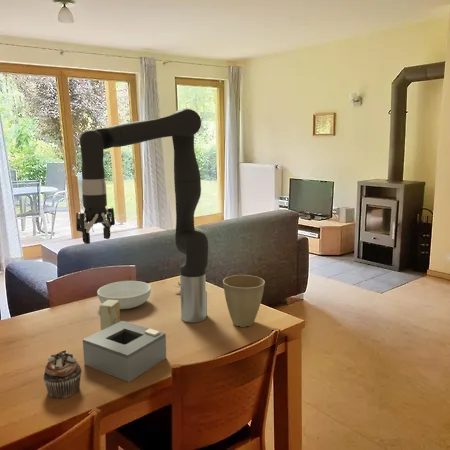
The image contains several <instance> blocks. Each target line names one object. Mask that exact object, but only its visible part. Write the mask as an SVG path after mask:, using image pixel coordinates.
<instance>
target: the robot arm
mask: <svg viewBox="0 0 450 450" xmlns="http://www.w3.org/2000/svg"><path fill="white" fill-rule="evenodd" d="M201 127H202V119H201V117H200V115H199V113H198V112H197V111H195V110H193V109H191V108H180V109H177V110H175V112H173V114H170V115H167V116H164V117H159V118H154V119H153V118H152V119H147V120H137V121H130V122H126V123H120V124H119V123H118V124H114V125H112V126H108V127H103V128H102V127H101V128H94V129H88V130H85V131H83V132H82V133H81V134H80V137H79V144H80V153H81V160H82V161H81V179H82V180H81V192H82V193H81V194H82V206H83V208H84V212H76V214H75V215H76V216H75V219H76V222H75V223H76V226H75V227H76V228H75V229H76V231H77V232H80V233H82V235H81V236H82V242H83V243H84V244H85V245H89V244H91V235H90V234H91V233H90V230H91V228H93V226H94V225H97V224H98V223H99V224H101V225H102V226H103V227H102V228H103V230H102V231H103V233H102V234H103V238H104V239H106V240H109V239H110V237H111V228H112V226H114V225H116V222H115V211H114V208H113V207H107V206H108V201H107V199H108V198H107V197H108V196H107V184H106V174H105V165H104V164H105V163H104V150H106V149H107V150H108V149H110V148H121V147H126V146H131V145H136V144H140V143H144V142H148V141H151V140H157V139H162V138H163V139H164V138H168V137H170V138H171V139H172V146H173V182H174V196H175V214H176V215H175V219H176V220H175V233H174V234H175V235H174V236H175V240H174V241H175V246H176V249H177V251H179V252H180V253H182V254H184V255H186V256H185V257H186V258H185V259H186V260H185V263H183V264H182V265H180V268H179V277H180V278H179V279H180V280H179V284H180V288H179V289H180V320H182V322H186V323H200V322H203V321H205V319H206V318H207V316H208V292H207V290H206V289H207V288H206V284H207V283H206V282H207V281H206V270H207V267H208V262H209V241H208V237H207V236H206V234H205V233H203V232H201V231H198V230H196V229H195V213H196V209H197V206H198V203H199V201H200V199H201V194H202V183H201V182H202V181H201V172H200V167H199V163H198V160H197V157H196V153H195V134H197V133H198V132H199V131H200V128H201Z"/></svg>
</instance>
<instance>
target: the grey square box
mask: <svg viewBox="0 0 450 450" xmlns="http://www.w3.org/2000/svg"><path fill="white" fill-rule="evenodd" d="M166 335H167V334H166V333H165V332H162V331H159V330H156V329H153V328H148V327H144V326H142V325H138V324H135V323H132V322H128V321H125V320H120V322H118V323H116V324H114V325H112V326H110V327H108V328H106V329H104V330H101V329H100V331H97V332H96V333H95V332H94V333H93V334H91V335H90V336H86V337H85V338H83V339H82V348H83V349H82V351H83V362H84V364H83V365H84V366H87V367H90V368H92V369H95V370H97V371H99V372H102V373H104V374H108V375H111V376H112V377H115V378H117V379H121V380H123V381H125V382H127V383H130V382H132V381H133V380H135V379H136V378H137V377H140V376H141V375H143V373H146V372H147V371H148V370H150V369H152V368H153V367H155V366H156V365H157V364H159V363H161V362H163V361H164V360H166V359H167V342H166V341H167V338H166V337H167V336H166ZM123 344H126V345H123Z"/></svg>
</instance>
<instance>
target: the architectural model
mask: <svg viewBox="0 0 450 450" xmlns="http://www.w3.org/2000/svg"><path fill="white" fill-rule="evenodd" d="M179 279H180V276H179ZM172 286H173V287H176V288H179V289H180V281H178V283H176V284H175V283H174V284H173V285H172Z"/></svg>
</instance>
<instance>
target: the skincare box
mask: <svg viewBox="0 0 450 450" xmlns="http://www.w3.org/2000/svg"><path fill="white" fill-rule="evenodd" d="M120 310H121V309H120V307H119V300H107V301H105V302H104V303H103V304H102V303H101V304H100V305H99V317H100V331H101V330H104V329H106V328H108V327H110V326H112V325H114V324H116V323H118V322H120V321H121V314H120V313H121V312H120Z"/></svg>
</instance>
